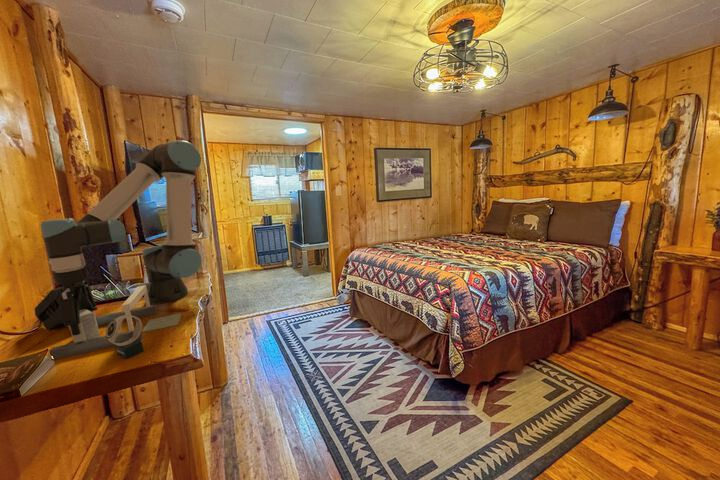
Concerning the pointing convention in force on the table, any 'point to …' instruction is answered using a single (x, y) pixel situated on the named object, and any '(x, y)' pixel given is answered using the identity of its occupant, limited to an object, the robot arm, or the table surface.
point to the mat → (162, 322)
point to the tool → (51, 309)
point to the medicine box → (89, 324)
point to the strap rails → (103, 341)
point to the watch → (127, 346)
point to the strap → (133, 300)
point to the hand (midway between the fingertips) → (87, 336)
